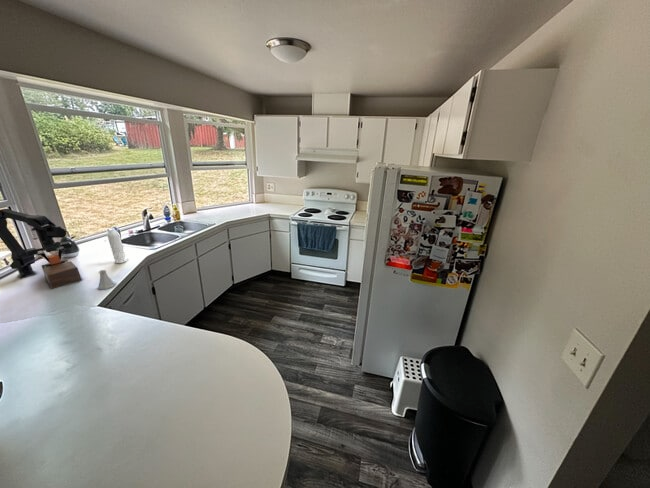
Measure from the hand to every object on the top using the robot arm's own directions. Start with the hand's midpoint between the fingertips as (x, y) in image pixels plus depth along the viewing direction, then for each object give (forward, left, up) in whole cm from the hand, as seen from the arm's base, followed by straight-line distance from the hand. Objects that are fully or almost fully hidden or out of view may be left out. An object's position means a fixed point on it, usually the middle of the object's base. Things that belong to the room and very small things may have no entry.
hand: (54, 261), depth 154 cm
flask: (+40, +13, -10) cm, 43 cm away
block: (0, 0, -1) cm, 1 cm away
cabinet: (+12, 0, -10) cm, 15 cm away
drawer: (+1, 0, -9) cm, 9 cm away
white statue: (+6, +30, -10) cm, 32 cm away
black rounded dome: (-33, +12, -10) cm, 37 cm away
